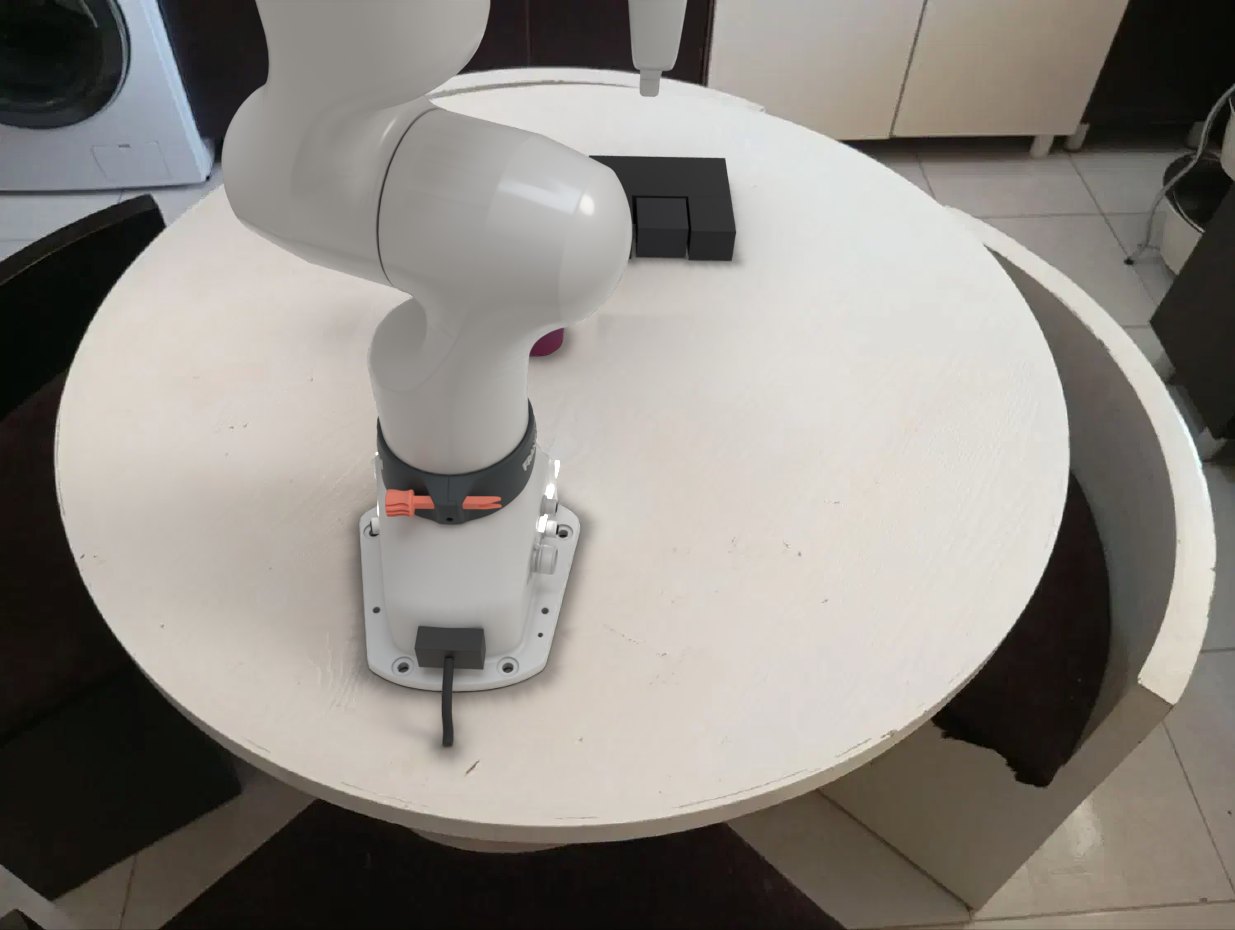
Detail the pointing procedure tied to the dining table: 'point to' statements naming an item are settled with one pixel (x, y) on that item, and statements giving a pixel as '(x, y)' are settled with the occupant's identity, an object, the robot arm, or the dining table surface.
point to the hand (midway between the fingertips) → (647, 67)
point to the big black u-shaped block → (684, 197)
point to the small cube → (661, 227)
